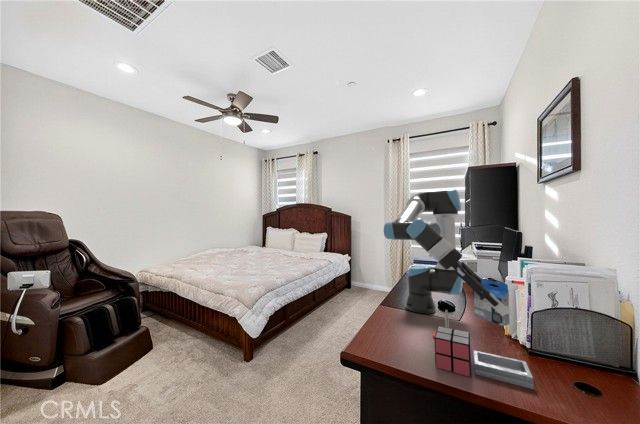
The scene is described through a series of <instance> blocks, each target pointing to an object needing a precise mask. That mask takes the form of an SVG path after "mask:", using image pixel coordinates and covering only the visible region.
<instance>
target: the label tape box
mask: <svg viewBox="0 0 640 424" xmlns="http://www.w3.org/2000/svg"><path fill="white" fill-rule="evenodd" d="M481 285H482V286H483V287H484V288H485V289H486V290H487V291H489V292H490V293H491V294H493V295H494V296H495V297H496V298H497V299H498V300H499V301H500V302H501V303H502V304H503V305H505V306H506V307H507V308H508V309H509V310H510V299H509V296H510V293H509V292H510V290H509V287H508V283H503V282H499V281H495V280H491V279H484V278H481ZM493 285H494V286H493ZM473 293H474V294H473V295H474V298H473V299H474V301H473V302H474V303H473V305H474V309H473V310H474V316H475V317H477V318H479V319H483V320H485V321H488V322H491V323H493V324H495V325H496V324H497V325H499V326H502V327H505V326H509V325H510V312H509V313H507V314H506V315H504V316H501V315H500V314H499V313H498V312H497V311H496V310H495V309H494V308H493V307H492V306H491V305H490V304H489V303H488V302H487V301H485V300H484V299H483V300H481V299H480V296H479V295H478V294H477V293H476V292H475V291H474V290H473ZM482 293H483V292H482Z"/></svg>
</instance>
